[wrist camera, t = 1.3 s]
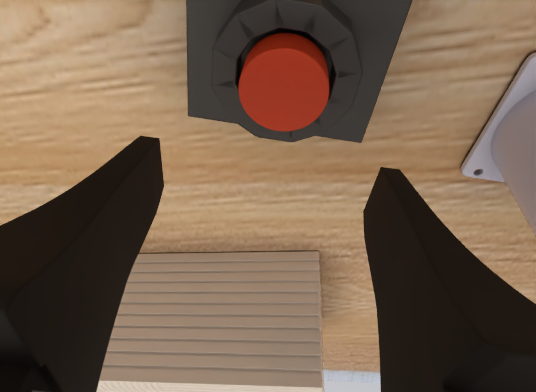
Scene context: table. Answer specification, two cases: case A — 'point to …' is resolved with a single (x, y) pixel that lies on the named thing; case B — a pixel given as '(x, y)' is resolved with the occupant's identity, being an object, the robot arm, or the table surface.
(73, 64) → the table surface
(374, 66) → the button block
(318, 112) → the button
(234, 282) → the long wooden block
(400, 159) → the table surface
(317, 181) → the table surface
